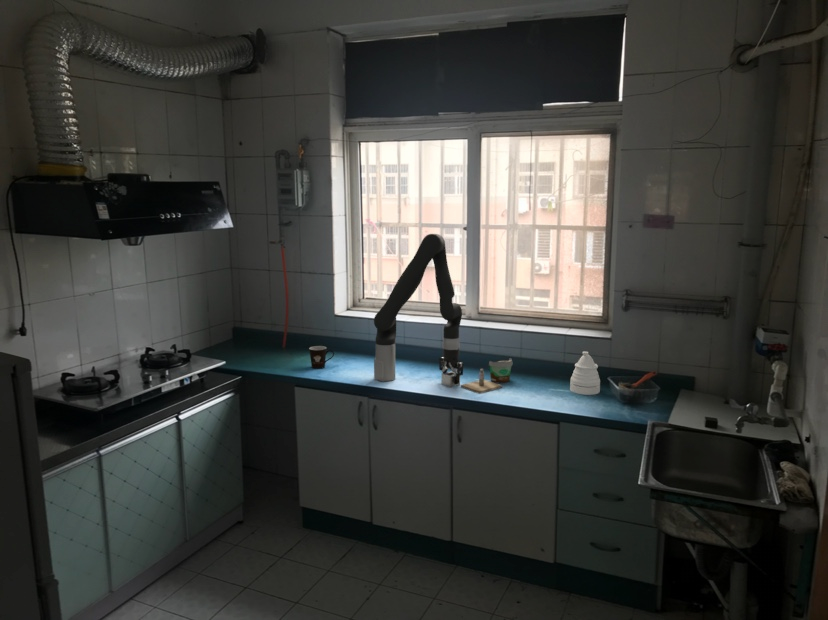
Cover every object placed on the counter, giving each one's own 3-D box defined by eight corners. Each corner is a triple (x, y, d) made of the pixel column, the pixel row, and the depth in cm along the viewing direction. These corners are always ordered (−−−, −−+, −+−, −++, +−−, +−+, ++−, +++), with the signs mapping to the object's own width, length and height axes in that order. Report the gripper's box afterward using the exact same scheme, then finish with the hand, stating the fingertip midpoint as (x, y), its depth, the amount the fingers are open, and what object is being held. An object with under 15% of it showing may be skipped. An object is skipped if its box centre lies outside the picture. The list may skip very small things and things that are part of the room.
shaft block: (479, 393, 284) (480, 374, 283) (461, 387, 294) (461, 368, 292) (501, 387, 293) (502, 369, 291) (483, 381, 302) (483, 363, 301)
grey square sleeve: (450, 387, 293) (450, 376, 292) (441, 384, 298) (441, 373, 297) (459, 384, 297) (460, 374, 296) (451, 381, 302) (451, 371, 301)
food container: (495, 385, 296) (496, 364, 294) (488, 381, 302) (488, 361, 300) (517, 381, 302) (518, 360, 300) (509, 378, 307) (510, 357, 305)
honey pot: (594, 396, 280) (597, 356, 277) (566, 391, 287) (567, 352, 284) (603, 388, 291) (605, 350, 288) (575, 384, 298) (577, 346, 294)
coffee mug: (306, 368, 324) (305, 349, 322) (315, 364, 331) (314, 345, 330) (326, 371, 319) (326, 351, 317) (335, 366, 327) (334, 347, 325)
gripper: (434, 345, 297) (434, 379, 301) (455, 351, 286) (455, 387, 290) (446, 343, 302) (446, 377, 305) (468, 348, 291) (467, 383, 294)
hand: (450, 381), depth 297 cm, fingers open, 7 cm apart
